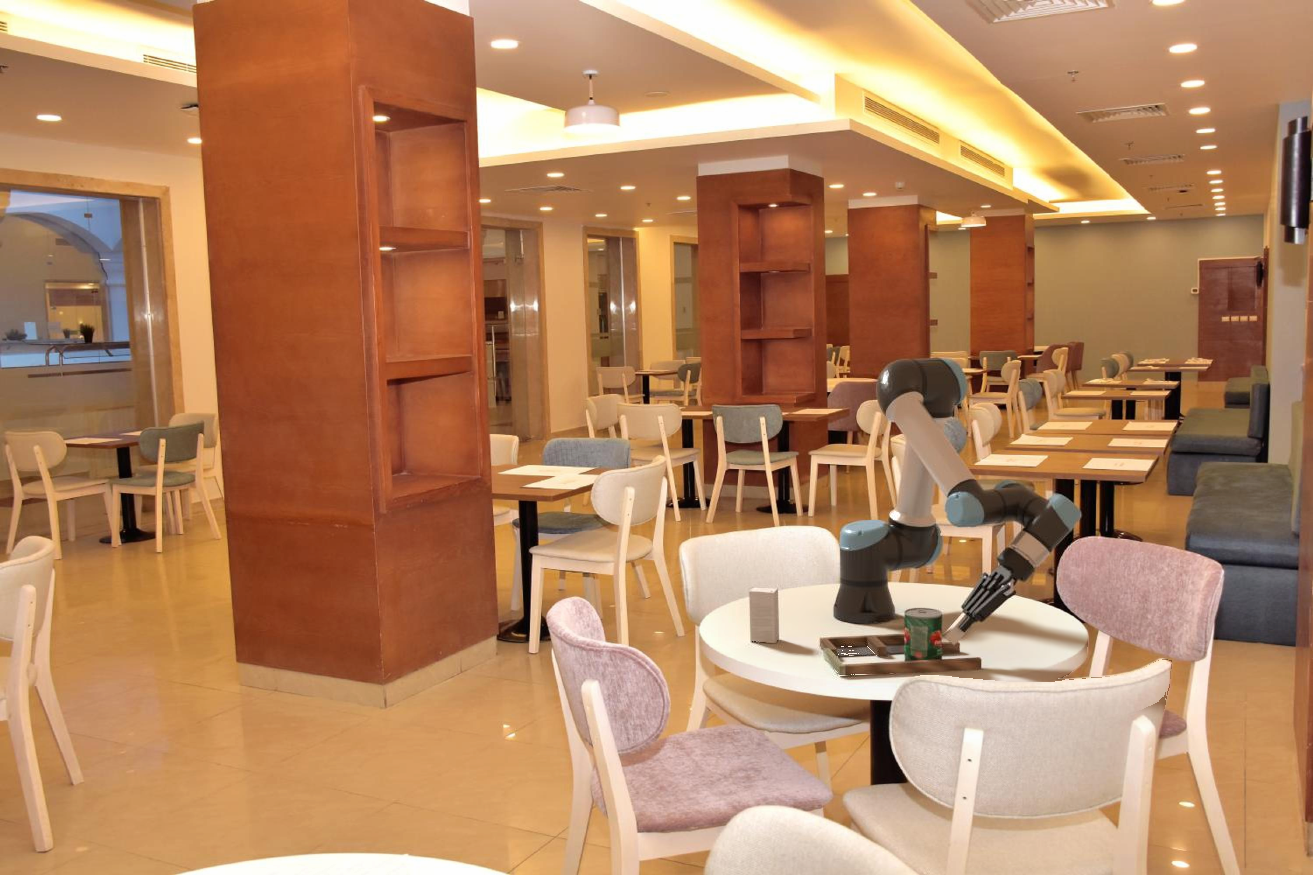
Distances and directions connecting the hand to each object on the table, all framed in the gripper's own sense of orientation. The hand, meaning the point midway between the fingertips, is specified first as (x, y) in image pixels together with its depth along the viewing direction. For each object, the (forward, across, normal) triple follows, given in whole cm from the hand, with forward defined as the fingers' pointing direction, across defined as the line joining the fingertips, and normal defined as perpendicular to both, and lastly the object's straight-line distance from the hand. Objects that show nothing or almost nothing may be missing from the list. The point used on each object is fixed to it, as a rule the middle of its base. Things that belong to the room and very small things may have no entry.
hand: (948, 640), depth 237 cm
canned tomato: (+7, +1, 0) cm, 7 cm away
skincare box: (+28, +24, +22) cm, 43 cm away
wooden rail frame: (+10, +6, +4) cm, 12 cm away
